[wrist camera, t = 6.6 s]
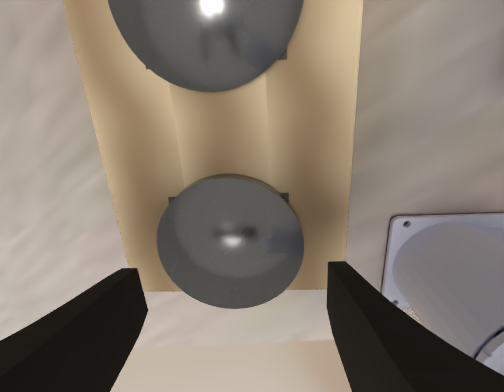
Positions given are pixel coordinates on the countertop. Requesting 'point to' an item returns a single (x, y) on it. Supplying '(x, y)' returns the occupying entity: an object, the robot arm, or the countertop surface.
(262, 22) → the peg
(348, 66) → the block
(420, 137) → the countertop surface
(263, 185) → the peg
